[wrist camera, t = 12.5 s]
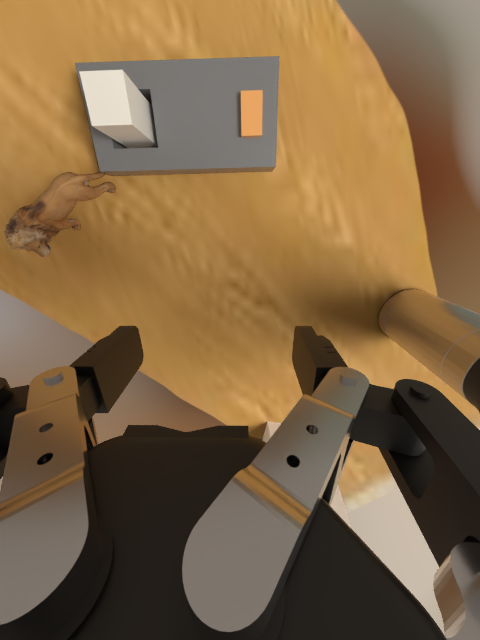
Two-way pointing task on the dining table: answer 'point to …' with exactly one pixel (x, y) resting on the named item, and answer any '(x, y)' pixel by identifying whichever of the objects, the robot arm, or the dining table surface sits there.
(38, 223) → the lion figurine
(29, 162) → the dining table surface
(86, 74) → the white rectangular block
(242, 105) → the grey board with slot
